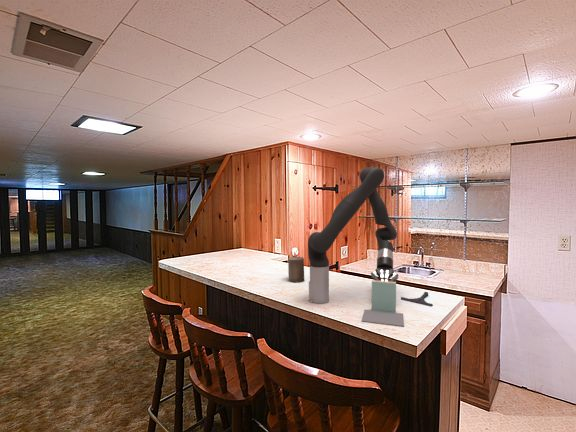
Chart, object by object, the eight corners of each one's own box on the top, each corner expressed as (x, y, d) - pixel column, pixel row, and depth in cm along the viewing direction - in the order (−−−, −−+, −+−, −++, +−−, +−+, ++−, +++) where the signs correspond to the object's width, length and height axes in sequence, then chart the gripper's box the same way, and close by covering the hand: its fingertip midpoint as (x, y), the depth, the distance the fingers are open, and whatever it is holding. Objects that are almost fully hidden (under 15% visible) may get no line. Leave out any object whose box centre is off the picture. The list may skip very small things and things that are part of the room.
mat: (361, 321, 121) (361, 320, 121) (364, 310, 133) (364, 309, 133) (404, 326, 116) (404, 325, 116) (403, 314, 128) (403, 313, 128)
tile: (371, 310, 133) (371, 281, 132) (372, 308, 135) (372, 280, 135) (395, 313, 130) (395, 283, 129) (395, 311, 132) (395, 281, 131)
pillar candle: (307, 281, 181) (306, 256, 180) (292, 283, 177) (292, 258, 176) (299, 277, 190) (299, 254, 189) (285, 279, 185) (285, 255, 185)
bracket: (442, 300, 147) (442, 294, 147) (431, 308, 137) (431, 302, 137) (412, 293, 157) (412, 288, 157) (400, 301, 147) (400, 295, 147)
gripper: (370, 255, 147) (368, 286, 136) (399, 256, 142) (399, 289, 132) (371, 263, 152) (369, 294, 141) (399, 265, 148) (399, 297, 137)
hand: (384, 292), depth 136 cm, fingers closed
